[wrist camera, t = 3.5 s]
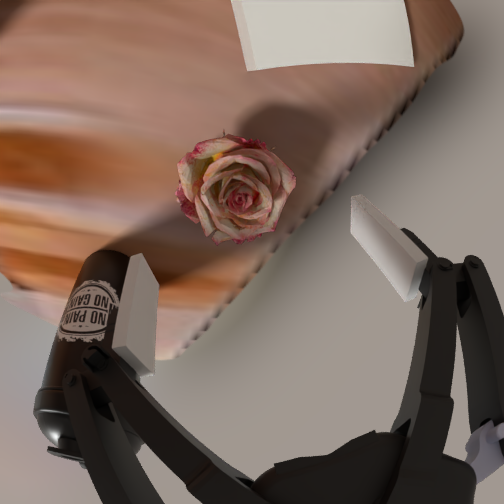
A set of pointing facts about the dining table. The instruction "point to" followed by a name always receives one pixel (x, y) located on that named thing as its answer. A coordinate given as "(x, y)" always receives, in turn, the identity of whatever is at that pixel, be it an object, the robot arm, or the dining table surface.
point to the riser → (322, 32)
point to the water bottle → (81, 348)
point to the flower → (233, 188)
